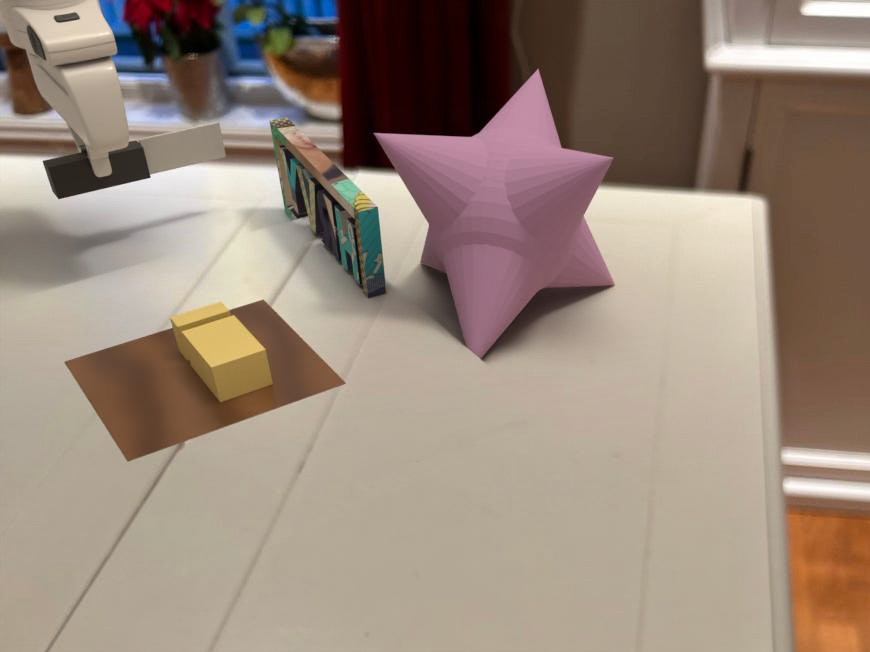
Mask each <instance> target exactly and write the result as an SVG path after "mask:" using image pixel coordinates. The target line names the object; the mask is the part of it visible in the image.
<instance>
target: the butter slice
mask: <svg viewBox="0 0 870 652" xmlns="http://www.w3.org/2000/svg"><path fill="white" fill-rule="evenodd" d="M229 310H230V309H229V308H228V307H227V306H226V305H225V304H224V303H223V302H222V301H218V302H215V303H212V304H208V305H205V306H202V307H198V308H196V309H192V310H189V311H186V312H185V311H184V312H182V313H179V314H176V315H172V316H170V317H169V320H170V324H171V328H173V331H174V334H175V337H176V341H177V344H178V348H179V351H180V352H181V354H182V355H183V356H184V357H185V359H186V360H187V361H188V360H189V357H188V353H187V349H186V346H185V342H184V339H183V335H182V331H185V330H188V329H191V328H194V327H198V326H201V325H204V324H207V323H210V322H213V321H217V320H220V319H223V318H226V317H229V316H231V315H230V311H229Z"/></svg>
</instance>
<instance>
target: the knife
mask: <svg viewBox="0 0 870 652" xmlns="http://www.w3.org/2000/svg"><path fill="white" fill-rule="evenodd" d="M225 149H226V148H225V144H224V138H223V134H222V129H221V124H220V121H215V122H214V121H213V122H210V123H205V124H200V125H196V126H191V127H187V128H182V129H177V130H173V131H168V132H163V133H159V134H155V135H150V136H144V137H140V138H138V140H132V141H129V143H128V146H127V147H126V148H122V149H118V150H114V151H109V152H108V158H109V161H110V165H111V169H112V173H111V174H110V175H108V176H104V177H97V176H96V175H95V174H94V173H93V171H92V170H91V168H90V164H89V161H88V158H87V156H88V153H87V151H85V152H80V153H79V152H76V153H72V154H67V155H63V156H58V157H54V158H49V159H48V158H47V159H43V160H42V164H43V168H44V170H45V173H46V176H47V179H48V183H49V185H50V188H51V192H52V193H53V194H54V195H55V197H56V198H57V199H58V200H61V199H65V198H70V197H75V196H78V195H84V194H88V193H91V192H96V191H101V190H105V189H109V188H114V187H118V186H121V185H126V184H130V183H135V182H139V181H143V180H147V179H148V180H149V179H151V175H155V174H160V173H163V172H168V171H171V170H172V171H173V170H176V169H180V168H184V167H188V166H189V167H190V166H192V165H198V164H201V163H206V162H211V161H215V160H219V159H224V158H226V157H227V154H226V150H225Z"/></svg>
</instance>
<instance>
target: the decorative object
mask: <svg viewBox="0 0 870 652" xmlns="http://www.w3.org/2000/svg"><path fill="white" fill-rule="evenodd" d="M373 135H374V136H375V138H376V140H377V141H378V143H379V145H380V146H381V148H382V150H383V152H384V153H385V154H386V156H387V159H389V161H390V163H391V165H392V166H393V168H394V170H395V171H396V173H397V174H398V176H399V178H400V179H401V181H402V182H403V184H404V186H405V187H406V189H407V191H408V192H409V194H410V195H411V197H412V199H413V201H414V202H415V204H416V206H417V207H418V208H419V210H420V212H421V213H422V215H423V217H424V218H425V220H426V222H427V224H428V228H427V232H426V237H425V240H424V245H423V249H422V253H421V257H420V260H419V263H421V264H423V265H425V266H427V267H430V268H433V269H435V270H437V271H440V272H442V273H444V274H446V276H447V279H448V284H449V287H450V290H451V295H452V298H453V302H454V306H455V310H456V314H457V317H458V321H459V325H460V329H461V333H462V336H463V341H464V344H465V347H466V348H467V349H468V350H469V351H470V352H471V353H473V354H474V355H475V356H476V357H477V358H479V359H482V358H483V357H484V356H485V355H486V353H487V352H488V351H489V350H490V349H491V348H492V346H493V345H494V344H495V343H496V341H497V340H498V339H499V338H500V337H501V335H502V334H503V333H504V332H505V331H506V329H507V328H508V327H509V326H510V325H511V324H512V322H513V321H514V320H515V319H516V317H517V316H519V314H520V313H521V312H522V310H523V309H524V308H525V307H526V306H527V304H528V303H529V302H530V301H531V300H532V299H533V298H534V297H535V295H536V294H537V293H538V292H539V291H540V290H543V289H551V288H573V287H574V288H577V287H578V288H579V287H602V286H616V283H615V281H614V279H613V277H612V274H611V273H610V270H609V268H608V265H607V264H606V262H605V260H604V257H603V256H602V253H601V251H600V249H599V246H598V244H597V242H596V240H595V237H594V236H593V234H592V231H591V228H590V227H589V224H588V223H587V220H586V218H585V215H586V212H587V211H588V208H589V206H591V203H592V201H593V198H594V197H595V195H596V193H597V191H598V190H599V187H600V185H601V183H602V181H603V180H604V178H605V176H606V175H607V172H608V170H609V168H610V166H611V165H612V162H613V160H614V157H612V156H607V155H601V154H596V153H591V152H585V151H581V150H575V149H569V148H563V147H562V145H561V140H560V137H559V133H558V130H557V127H556V123H555V120H554V117H553V114H552V110H551V107H550V104H549V100H548V97H547V94H546V89H545V87H544V84H543V79H542V76H541V73H540V69H539V68H537V69H536V70H535V72H533V74H531V76H530V77H529V78H528V79H527V80H526V81H525V83H524V84H523V85H522V86H521V87H520V88H519V89H518V90H517V91H516V92H515V93H514V94H513V96H511V98H510V99H509V100H508V101H507V102H506V103H505V104H504V105H503V106H502V108H500V109H499V111H498V112H497V113H496V114H495V115H494V116H493V117H492V119H490V120H489V122H488V123H486V125H485V126H484V127H483V128H482V129H481V130H480V131H479V132H478V133H475V134H474V135H472V136H451V135H429V134H428V135H427V134H405V133H403V134H402V133H383V132H382V133H381V132H373Z"/></svg>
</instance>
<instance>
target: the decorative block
mask: <svg viewBox="0 0 870 652" xmlns="http://www.w3.org/2000/svg"><path fill="white" fill-rule="evenodd" d="M269 126H270V127H269V128H270V132H271V139H272V145H273V149H274V157H275V161H276V162H275V163H276V166H277V167H276V168H277V173H278V178H279V184H280V191H281V195H282V202H283V208H284V213H285V215H287V217H288V218H289V217H290V218H289V219H290V221H295V220H299V219H302V218H306V217H307V218H308V221H309V225H310V229H311V230H312V231H313V233H314V234H315V235H318V234H322V238H321V243H323V244H324V246H325V247H326V248H327V249H330V248H332V252H333V256H334V257H335V258H336V259H337V260H338V261H339V262H340V261H341V265H342V267H344V268H345V270H346V271H347V272H349V271H352V272H353V279H354V280H355V281H356V282H357V283H358V285H360V286H361V285H362V293H363V294H364V296H365V297H366V298H367V299H372V298H375V297H378V296H383V295H386V294H387V286H386V285H387V283H386V275H385V265H384V263H385V262H384V254H383V244H382V234H381V225H380V224H381V223H380V215H379V206H378V205H376V203H375V202H374V201H372V199H370V198H369V196H368V195H366V194H365V193H364V192H363V191H362V190H361V189H360V188H359V187H358V186H357V185H356V184H355V182H353V181H352V179H350V178H349V177H348V176H347V175H346V174H345V173H344V172H343V171H342V170H341V169H340V168H339V166H337V165H336V164H335V163H334V162H333V161H332V160H331V159H330V158H329V157H328V156H327V155H326V154H325V153H324V152H323V151H322V150H321V149H320V148H319V147H318V146H317V145H316V144H315V143H314V142H313V141H311V139H310V138H309V137H308V136H307V135H306V134H305V133H303V131H302V130H301V129H300V128H299V127H298V126H297V125H296V124H294V123H293V122H292V120H291V119H290V118H288V117H287V116H286V117H280V118H274V119H270V120H269Z"/></svg>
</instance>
